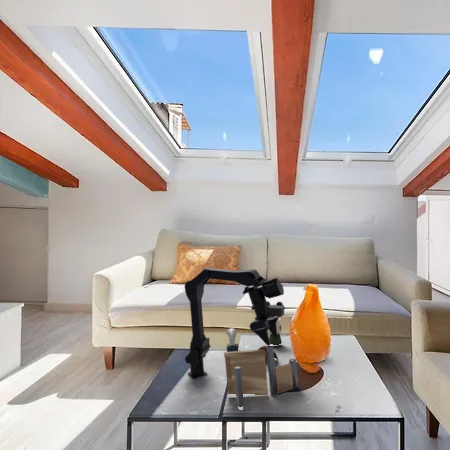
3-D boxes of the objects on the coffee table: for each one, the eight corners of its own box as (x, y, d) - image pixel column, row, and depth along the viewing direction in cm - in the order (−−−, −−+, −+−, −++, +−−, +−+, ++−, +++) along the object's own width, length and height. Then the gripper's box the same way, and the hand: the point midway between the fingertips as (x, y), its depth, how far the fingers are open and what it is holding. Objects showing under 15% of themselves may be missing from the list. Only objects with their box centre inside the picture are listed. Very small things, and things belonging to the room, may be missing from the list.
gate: (228, 396, 136) (224, 352, 136) (268, 393, 135) (264, 349, 135) (227, 398, 134) (224, 353, 134) (268, 395, 134) (265, 350, 134)
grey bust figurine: (239, 348, 188) (237, 326, 188) (238, 354, 180) (236, 330, 180) (227, 349, 188) (225, 327, 188) (226, 355, 180) (224, 331, 180)
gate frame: (233, 406, 129) (229, 356, 129) (295, 385, 141) (291, 339, 141) (240, 411, 125) (235, 359, 125) (303, 389, 137) (299, 342, 137)
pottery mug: (283, 366, 162) (274, 352, 160) (263, 377, 162) (254, 363, 160) (275, 350, 173) (267, 336, 171) (257, 360, 174) (248, 347, 171)
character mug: (284, 349, 181) (282, 321, 181) (269, 350, 181) (267, 323, 181) (281, 341, 192) (279, 316, 192) (267, 343, 192) (265, 317, 192)
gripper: (270, 301, 135) (285, 344, 134) (284, 291, 152) (298, 329, 151) (243, 309, 140) (257, 351, 138) (259, 298, 157) (272, 335, 155)
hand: (272, 341), depth 145 cm, fingers open, 9 cm apart
